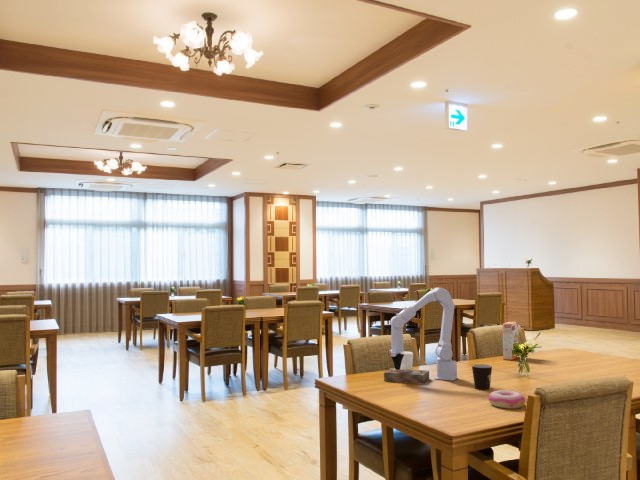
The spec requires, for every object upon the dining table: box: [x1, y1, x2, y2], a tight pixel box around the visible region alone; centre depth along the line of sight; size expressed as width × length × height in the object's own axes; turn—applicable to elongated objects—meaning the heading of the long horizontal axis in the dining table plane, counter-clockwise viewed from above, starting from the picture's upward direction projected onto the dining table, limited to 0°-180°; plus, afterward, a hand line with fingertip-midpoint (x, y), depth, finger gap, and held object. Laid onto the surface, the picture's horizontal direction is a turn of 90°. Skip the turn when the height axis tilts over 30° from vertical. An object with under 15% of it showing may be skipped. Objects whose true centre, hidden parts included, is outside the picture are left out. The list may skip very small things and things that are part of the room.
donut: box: [488, 389, 526, 410], centre depth 217 cm, size 14×13×5 cm
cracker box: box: [502, 321, 519, 361], centre depth 323 cm, size 14×6×21 cm, turn 147°
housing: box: [383, 367, 430, 385], centre depth 266 cm, size 19×12×4 cm, turn 65°
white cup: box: [400, 350, 414, 370], centre depth 286 cm, size 8×8×10 cm
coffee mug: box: [471, 363, 493, 391], centre depth 247 cm, size 12×9×10 cm
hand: (397, 369), depth 268 cm, fingers closed, pressing on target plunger
